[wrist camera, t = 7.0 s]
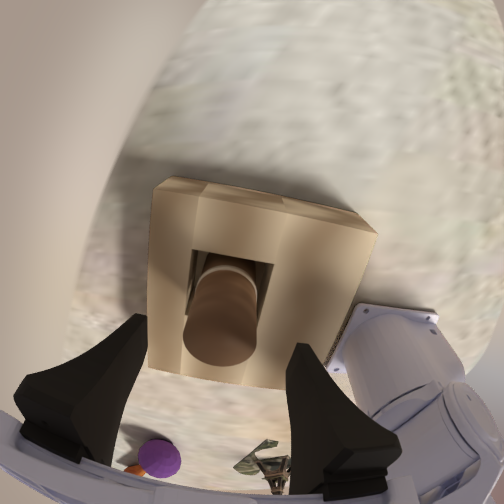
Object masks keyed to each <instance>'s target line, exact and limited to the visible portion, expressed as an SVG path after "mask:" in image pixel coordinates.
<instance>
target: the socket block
mask: <svg viewBox="0 0 504 504" xmlns="http://www.w3.org/2000/svg"><path fill="white" fill-rule="evenodd" d="M377 236H378V233H377V232H376V231H375V230H374V229H373V228H372V227H371V226H370V225H369V224H368V223H367V222H366V221H365V220H364V219H363V218H362V217H360V216H359V215H358V214H357V213H354V212H350V211H346V210H342V209H338V208H333V207H329V206H325V205H321V204H317V203H312V202H308V201H303V200H299V199H294V198H290V197H285V196H280V195H276V194H271V193H266V192H261V191H256V190H251V189H246V188H241V187H235V186H230V185H224V184H219V183H213V182H207V181H201V180H195V179H189V178H183V177H177V176H171V177H169V178H168V179H167V180H165V181H164V182H162V183H161V184H159V185H158V186H157V187H155V188H154V189H153V195H152V206H151V218H150V231H149V248H148V271H147V316H148V368H153V369H157V370H161V371H166V372H170V373H175V374H179V375H184V376H189V377H195V378H200V379H205V380H211V381H217V382H223V383H230V384H237V385H244V386H252V387H260V388H269V389H279V390H286V382H285V378H286V368H287V366H288V363H289V361H290V359H291V356H292V354H293V351H294V349H295V346H296V344H297V342H298V343H307V344H309V345H310V346H311V348H312V349H313V351H314V352H315V354H316V356H317V357H318V359H319V360H320V362H321V363H322V365H323V363H324V361H325V359H326V357H327V355H328V353H329V351H330V349H331V347H332V345H333V343H334V341H335V339H336V336H337V334H338V332H339V330H340V328H341V326H342V323H343V321H344V319H345V317H346V315H347V312H348V310H349V308H350V305H351V303H352V301H353V298H354V296H355V294H356V291H357V289H358V286H359V284H360V281H361V279H362V276H363V274H364V271H365V269H366V266H367V264H368V261H369V258H370V256H371V253H372V250H373V247H374V245H375V242H376V239H377ZM209 252H211V253H217V254H222V255H228V256H233V257H238V258H244V259H249V260H255V263H256V288H257V302H256V318H257V345H256V349H255V351H254V353H253V354H252V356H251V357H250V358H249V359H247V360H246V361H244V362H242V363H240V364H238V365H234V366H228V367H219V366H212V365H209V364H206V363H203V362H201V361H199V360H198V359H196V358H195V357H194V356H192V355H191V354H190V353H189V351H188V350H187V349H186V347H185V345H184V342H183V331H184V327H185V324H186V321H187V318H188V314H189V311H190V308H191V304H192V301H193V298H194V295H195V289H196V286H197V283H198V280H199V278H200V276H201V273H202V270H203V266H204V263H205V260H206V257H207V255H208V253H209Z"/></svg>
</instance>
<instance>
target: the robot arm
mask: <svg viewBox="0 0 504 504" xmlns="http://www.w3.org/2000/svg"><path fill="white" fill-rule="evenodd" d="M365 309H367V310H366V311H364V310H365ZM438 319H439V315H438V314H437V313H433V312H425V311H417V310H409V309H401V308H393V307H386V306H378V305H371V304H364V303H360V304H357V305H356V306H355V308H354V310H353V312H352V315H351V317H350V319H349V321H348V323H347V326H346V328H345V330H344V332H343V334H342V336H341V338H340V340H339V342H338V344H337V347H336V349H335V351H334V353H333V355H332V357H331V359H330V360H329V362H328V364H327V366H326V369H325V368H324V366H323V365H322V363H321V362H320V360H319V359H318V357H317V356H316V354H315V352H314V351H313V349H312V348H311V346H310V345H309V344H307V343H298V342H297V344H296V346H295V349H294V351H293V354H292V356H291V359H290V361H289V363H288V366H287V368H286V378H285V382H286V396H287V403H288V410H289V418H290V425H291V473H290V488H289V495H259V494H258V495H257V494H241V493H230V492H221V491H213V490H205V489H199V488H192V487H187V486H181V485H176V484H171V483H166V482H162V481H158V480H153V479H149V478H145V477H142V476H138V475H134V474H131V473H127V472H124V471H121V470H118V469H115V468H112V467H111V463H112V458H113V452H114V447H115V442H116V438H117V433H118V429H119V425H120V422H121V418H122V414H123V411H124V407H125V404H126V402H127V399H128V396H129V394H130V392H131V390H132V387H133V385H134V383H135V381H136V378H137V376H138V374H139V371H140V369H141V367H142V365H143V362H144V358H145V355H146V352H147V348H148V316H146V315H141V314H137V313H135V314H134V315H132V316H131V317H130V318H129V319H128V320H127V321H126V322H125V323H123V324H122V325H121V326H120V327H119V328H118V329H117V330H115V331H114V332H113V333H112V334H110V335H109V336H108V337H107V338H105V339H104V340H103V341H101V342H100V343H98V344H97V345H96V346H94V347H93V348H91V349H90V350H88V351H87V352H85V353H83V354H82V355H80V356H78V357H76V358H74V359H72V360H70V361H68V362H66V363H64V364H61V365H59V366H56V367H54V368H51V369H48V370H44V371H41V372H37V373H33V374H29V375H26V377H25V378H24V379H23V381H22V382H21V384H20V385H19V387H18V389H17V390H16V392H15V394H14V396H13V397H14V401H15V403H16V405H17V407H18V408H19V410H20V411H21V413H22V415H23V416H24V418H25V421H24V423H23V424H22V423H21V422H20V421H18V420H17V419H16V418H14V417H12V416H11V415H9V414H7V413H5V412H4V411H2V410H0V468H1V469H2V470H3V471H5V472H6V473H8V474H9V475H11V476H12V477H14V478H16V479H17V480H19V481H20V482H22V483H24V484H25V485H27V486H29V487H30V488H32V489H34V490H36V491H37V492H39V493H41V494H43V495H44V496H46V497H48V498H50V499H52V500H54V501H56V502H58V503H59V504H496V503H495V501H494V499H493V498H492V496H491V495H490V494H491V492H492V490H493V488H494V486H495V485H496V483H497V481H498V479H499V477H500V475H501V473H502V471H503V469H504V439H503V437H502V435H501V433H500V432H499V430H498V428H497V425H496V423H495V420H494V418H493V416H492V414H491V413H490V411H489V409H488V408H487V406H486V405H485V403H484V402H483V400H482V399H481V398H480V396H479V395H478V394H477V393H476V392H475V391H474V390H473V389H472V388H471V387H470V386H469V385H467V384H466V383H465V371H464V367H463V364H462V362H461V360H460V359H459V357H458V356H457V354H456V353H455V351H454V350H453V348H452V347H451V346H450V344H449V343H448V341H447V340H446V338H445V337H444V335H443V334H442V333H441V331H440V330H439V328H438V327H437V326H436V323H437V321H438ZM335 368H336V369H335ZM326 370H327V371H326ZM328 372H330V373H347V374H348V378H349V381H350V384H351V387H352V391H353V394H354V397H355V401H356V404H357V406H356V405H355V404H354V403H353V402H352V401H351V400H350V399H349V398H348V397H347V396H346V395H345V394H344V393H343V392H342V391H341V389H340V388H339V387H338V386H337V384H336V383H335V382H334V381H333V379H332V378H331V377H330V375H329V374H328Z"/></svg>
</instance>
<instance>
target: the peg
mask: <svg viewBox="0 0 504 504" xmlns="http://www.w3.org/2000/svg"><path fill="white" fill-rule="evenodd" d="M256 302H257V288H256V263H255V260H249V259H244V258H238V257H233V256H228V255H222V254H217V253H211V252H209V253H208V255H207V257H206V260H205V263H204V266H203V270H202V273H201V276H200V278H199V280H198V283H197V286H196V289H195V295H194V298H193V301H192V304H191V308H190V311H189V314H188V318H187V321H186V324H185V327H184V331H183V342H184V345H185V347H186V349H187V350H188V351H189V353H190V354H191V355H192V356H194V357H195V358H196V359H198V360H199V361H201V362H203V363H206V364H209V365H212V366H219V367H228V366H234V365H238V364H240V363H242V362H244V361H246V360H247V359H249V358H250V357H251V356H252V354H253V353H254V351H255V349H256V345H257V318H256Z"/></svg>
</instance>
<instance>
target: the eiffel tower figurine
mask: <svg viewBox="0 0 504 504" xmlns="http://www.w3.org/2000/svg"><path fill="white" fill-rule="evenodd" d="M277 444H278V441H271V440H266V441H265V442H263V443H262V444H261V445H260V446H259V447H257V448H256V449H255V450H254V451H252V452H251V453H250V454H249V455H248V456H247V457H245V458H244V459H243V460H242V461H241V462H239V463H238V464H237V465H235V466H234V467H233V468H234V469H235V470H236V471H238V472H239V473H241V474H245V475H255V474H257V473H259V471H260V470H261V471H262V472H263V474H264V475H265V478H262V479H265V480H267V481H268V483H269V485H270V488H271V492H272V494H273V495H282V493H283V489H284V486H285V483H286V481H288V477H289V476H290V473H291V458H290V457H289V456H288V455H287V456H281V457H276V458H270V459H263V460H258V459H257V457H256V456H255V452H257V451H259V450H262V449H267V448H273V447H277ZM287 468H289V469H288V470H287V472H286V469H287ZM276 483H278V486H277V487H276Z"/></svg>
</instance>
